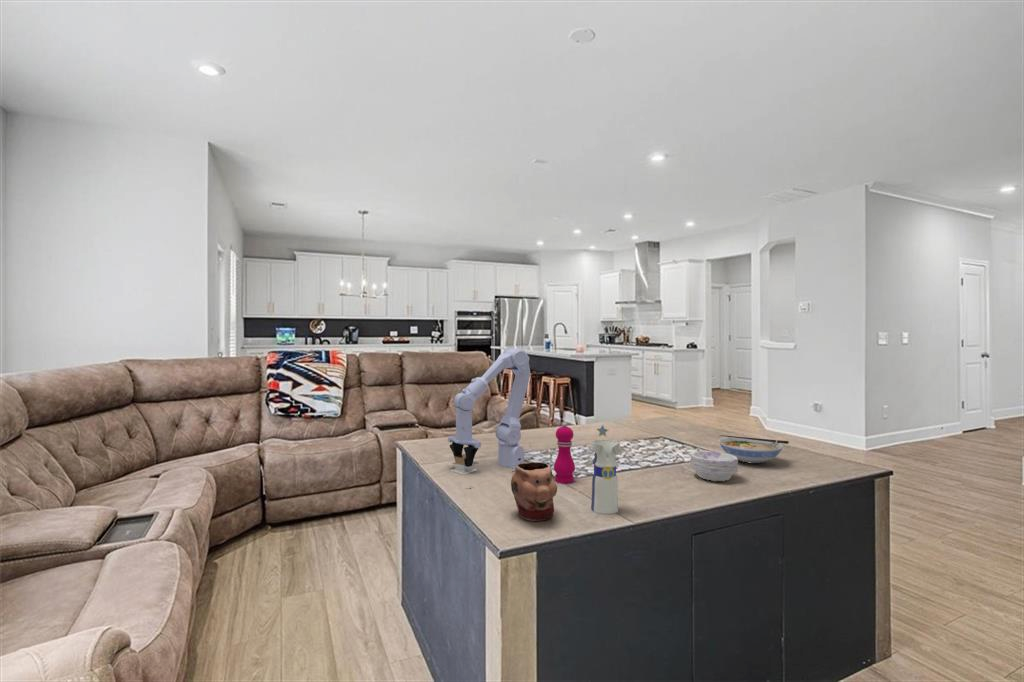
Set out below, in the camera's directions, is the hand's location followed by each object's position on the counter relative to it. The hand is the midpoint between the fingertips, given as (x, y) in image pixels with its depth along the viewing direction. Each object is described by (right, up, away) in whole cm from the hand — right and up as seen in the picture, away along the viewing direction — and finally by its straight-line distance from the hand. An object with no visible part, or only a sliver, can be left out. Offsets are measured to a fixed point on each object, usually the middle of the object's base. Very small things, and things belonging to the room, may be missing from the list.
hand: (464, 464), depth 178 cm
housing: (0, -2, 0) cm, 2 cm away
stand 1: (0, -3, +9) cm, 10 cm away
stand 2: (0, -3, 0) cm, 3 cm away
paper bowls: (+87, -4, -4) cm, 87 cm away
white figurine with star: (+44, -4, -35) cm, 56 cm away
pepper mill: (+35, -4, -8) cm, 36 cm away
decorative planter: (+23, -4, -38) cm, 45 cm away
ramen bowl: (+110, -3, +17) cm, 111 cm away
